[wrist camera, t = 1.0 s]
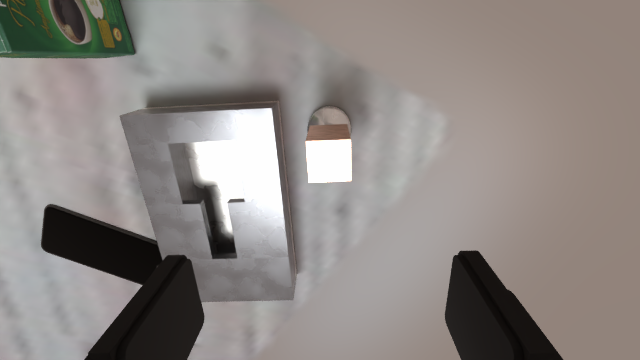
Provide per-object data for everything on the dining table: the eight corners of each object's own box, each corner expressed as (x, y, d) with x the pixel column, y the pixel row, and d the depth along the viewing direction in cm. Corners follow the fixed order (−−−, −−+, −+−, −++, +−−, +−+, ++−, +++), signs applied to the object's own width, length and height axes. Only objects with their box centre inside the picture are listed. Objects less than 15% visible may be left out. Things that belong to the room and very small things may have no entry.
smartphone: (44, 247, 40) (158, 286, 42) (38, 251, 40) (155, 290, 41) (49, 200, 38) (170, 243, 40) (43, 203, 37) (167, 247, 39)
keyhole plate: (145, 107, 33) (119, 115, 29) (279, 100, 32) (271, 108, 28) (190, 277, 41) (175, 302, 37) (296, 274, 40) (293, 300, 36)
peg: (306, 107, 32) (296, 133, 22) (349, 105, 32) (359, 130, 22) (309, 148, 34) (301, 190, 24) (350, 146, 34) (359, 188, 24)
